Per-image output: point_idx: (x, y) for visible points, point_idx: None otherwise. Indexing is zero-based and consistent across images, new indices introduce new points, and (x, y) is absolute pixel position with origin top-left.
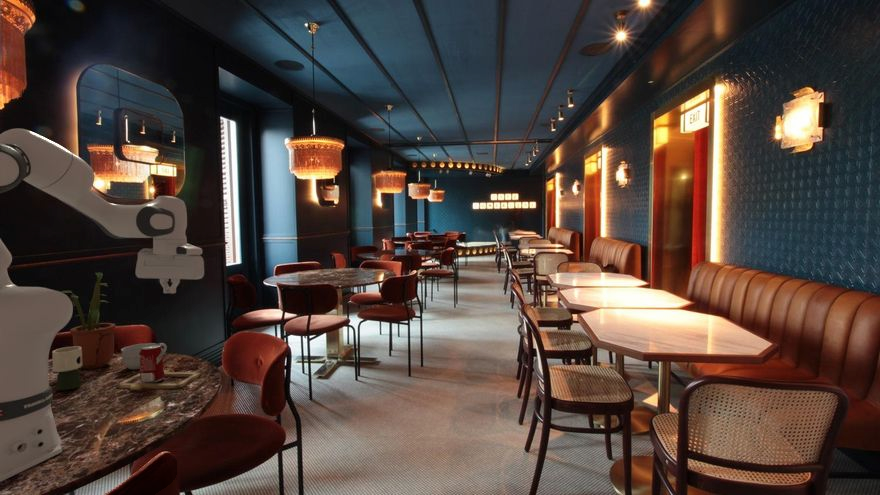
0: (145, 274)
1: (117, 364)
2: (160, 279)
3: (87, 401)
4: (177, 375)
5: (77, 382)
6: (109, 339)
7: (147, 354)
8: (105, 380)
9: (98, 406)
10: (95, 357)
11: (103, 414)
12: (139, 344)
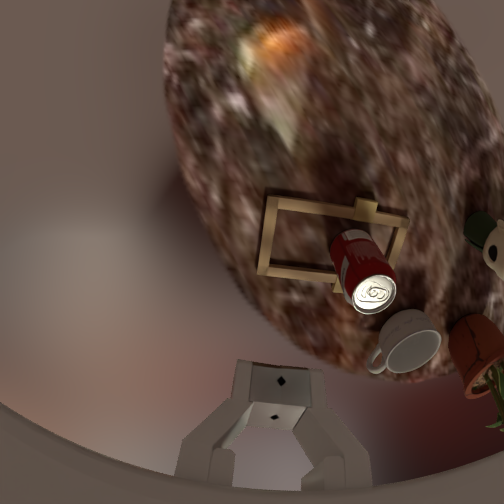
0: (496, 482)
1: None
2: (363, 479)
3: (426, 150)
4: (307, 269)
5: (470, 228)
6: (464, 361)
7: (371, 262)
8: (437, 261)
9: (393, 116)
10: (470, 325)
11: (359, 69)
12: (416, 367)
